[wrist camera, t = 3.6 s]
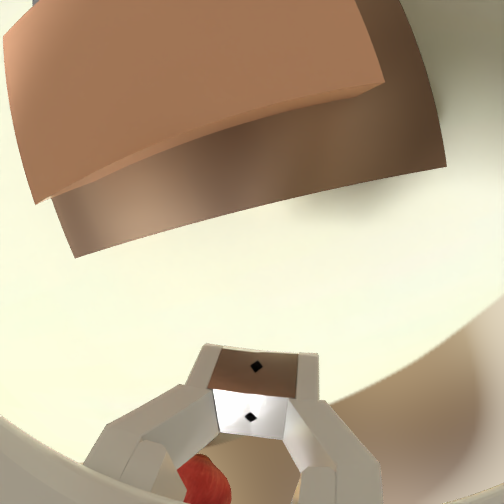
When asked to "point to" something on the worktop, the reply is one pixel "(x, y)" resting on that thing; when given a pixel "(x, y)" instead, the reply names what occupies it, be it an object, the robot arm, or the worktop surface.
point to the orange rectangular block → (168, 76)
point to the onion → (204, 482)
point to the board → (272, 153)
